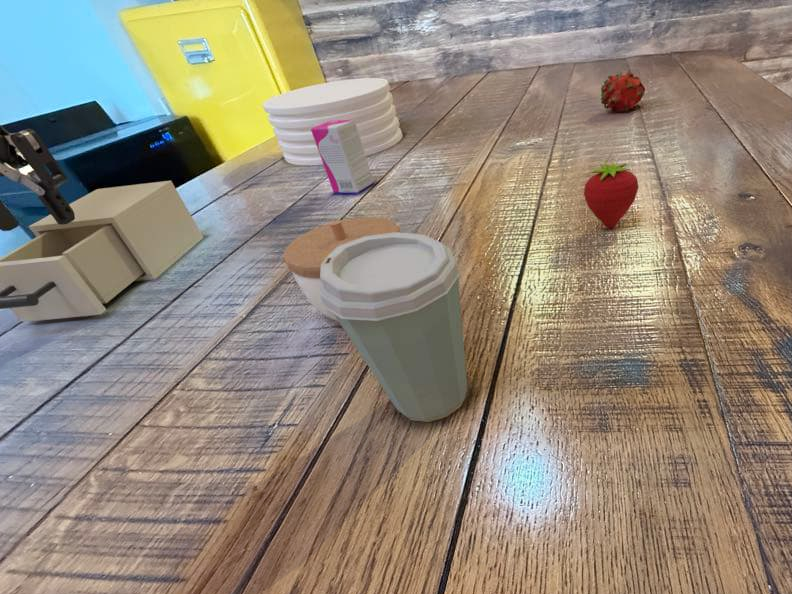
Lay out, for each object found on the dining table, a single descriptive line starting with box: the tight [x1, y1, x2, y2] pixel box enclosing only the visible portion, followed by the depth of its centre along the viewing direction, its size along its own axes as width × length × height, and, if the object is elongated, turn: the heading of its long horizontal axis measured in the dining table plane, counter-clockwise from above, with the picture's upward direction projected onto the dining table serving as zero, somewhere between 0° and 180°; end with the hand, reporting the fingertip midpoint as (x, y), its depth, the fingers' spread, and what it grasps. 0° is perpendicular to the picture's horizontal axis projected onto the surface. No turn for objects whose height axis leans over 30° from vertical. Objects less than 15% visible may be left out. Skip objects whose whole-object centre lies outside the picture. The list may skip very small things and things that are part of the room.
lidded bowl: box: [283, 216, 401, 322], centre depth 58 cm, size 13×13×11 cm
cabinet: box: [28, 180, 204, 282], centre depth 78 cm, size 15×13×10 cm
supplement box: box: [311, 120, 375, 196], centre depth 93 cm, size 6×6×12 cm
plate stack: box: [262, 77, 403, 166], centre depth 119 cm, size 28×28×12 cm
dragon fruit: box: [600, 71, 646, 114], centre depth 117 cm, size 8×8×12 cm
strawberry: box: [583, 154, 639, 229], centre depth 69 cm, size 6×8×10 cm
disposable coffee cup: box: [320, 232, 469, 423], centre depth 43 cm, size 11×11×15 cm
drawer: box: [0, 223, 144, 323], centre depth 68 cm, size 18×11×8 cm, turn 0°
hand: (39, 225), depth 66 cm, fingers open, 7 cm apart
